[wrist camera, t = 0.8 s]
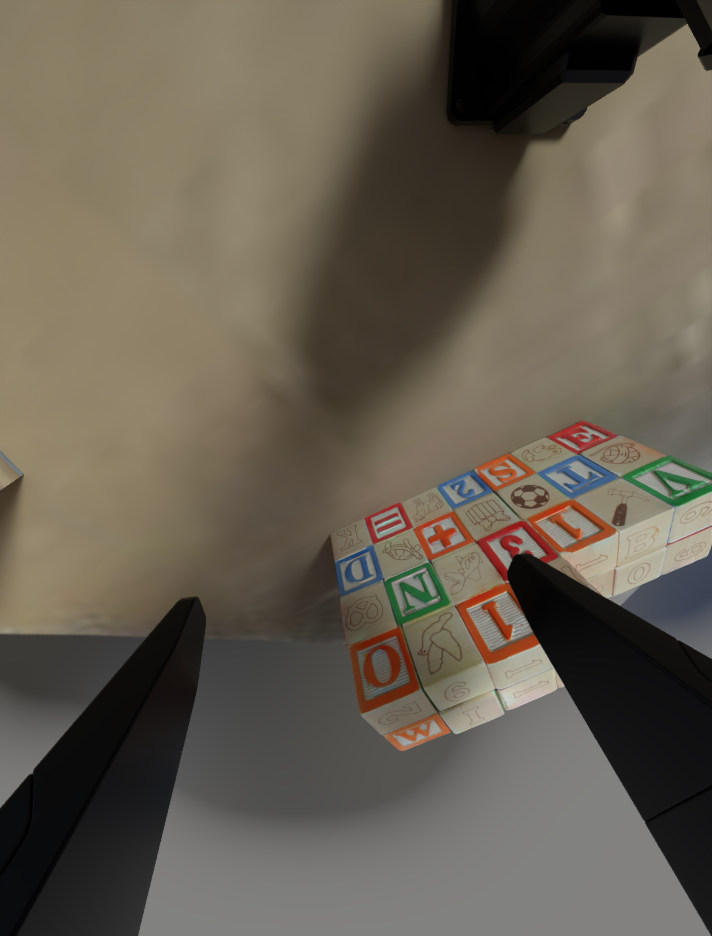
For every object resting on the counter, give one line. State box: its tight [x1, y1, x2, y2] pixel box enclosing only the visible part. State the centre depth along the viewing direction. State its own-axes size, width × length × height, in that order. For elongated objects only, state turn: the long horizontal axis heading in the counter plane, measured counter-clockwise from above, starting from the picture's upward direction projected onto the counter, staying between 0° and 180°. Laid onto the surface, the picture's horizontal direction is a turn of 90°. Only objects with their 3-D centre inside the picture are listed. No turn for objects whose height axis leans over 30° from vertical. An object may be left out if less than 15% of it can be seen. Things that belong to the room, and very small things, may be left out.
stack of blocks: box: [330, 421, 712, 751], centre depth 20 cm, size 21×6×12 cm, turn 113°
